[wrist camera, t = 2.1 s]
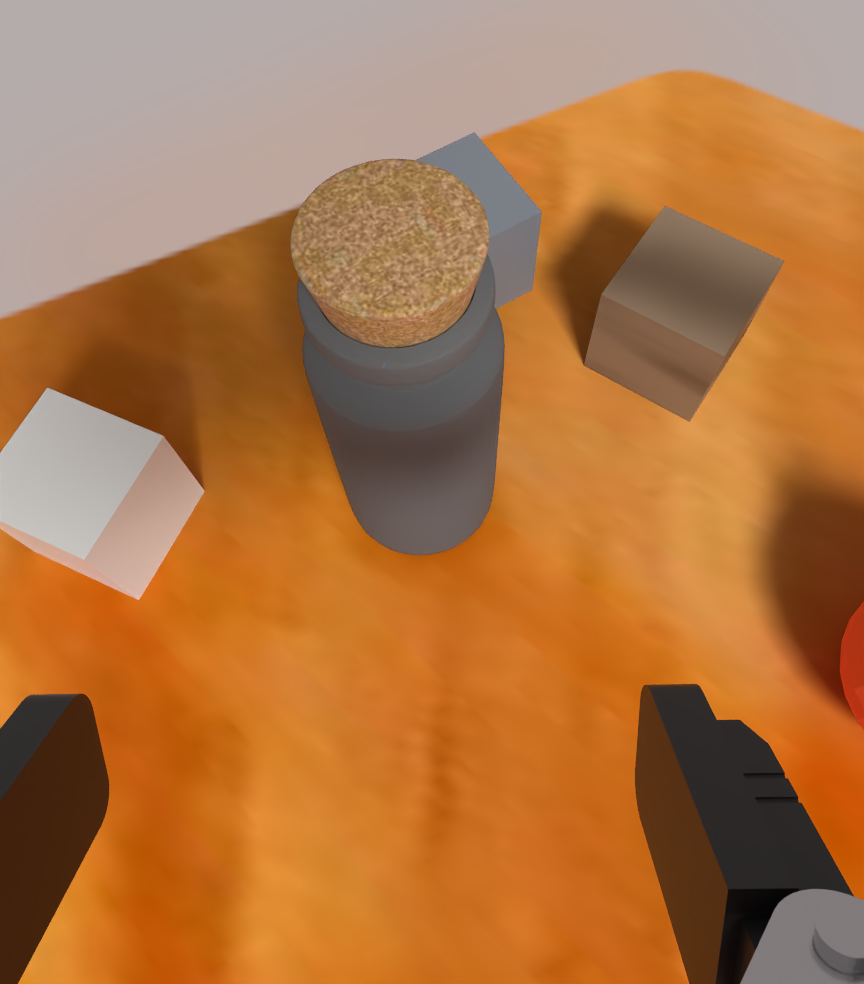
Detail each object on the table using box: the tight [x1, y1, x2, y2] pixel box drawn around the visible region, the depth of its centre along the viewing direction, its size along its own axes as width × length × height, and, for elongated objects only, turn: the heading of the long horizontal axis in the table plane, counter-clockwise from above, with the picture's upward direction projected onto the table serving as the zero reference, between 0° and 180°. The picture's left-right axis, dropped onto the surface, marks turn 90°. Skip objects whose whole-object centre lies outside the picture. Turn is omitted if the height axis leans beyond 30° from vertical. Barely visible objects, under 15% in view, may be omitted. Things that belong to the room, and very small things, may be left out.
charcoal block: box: [415, 133, 542, 309], centre depth 35 cm, size 5×5×5 cm
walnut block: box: [584, 206, 784, 422], centre depth 33 cm, size 5×5×5 cm
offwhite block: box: [0, 388, 205, 600], centre depth 31 cm, size 5×5×5 cm
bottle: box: [290, 159, 505, 555], centre depth 26 cm, size 6×6×15 cm
